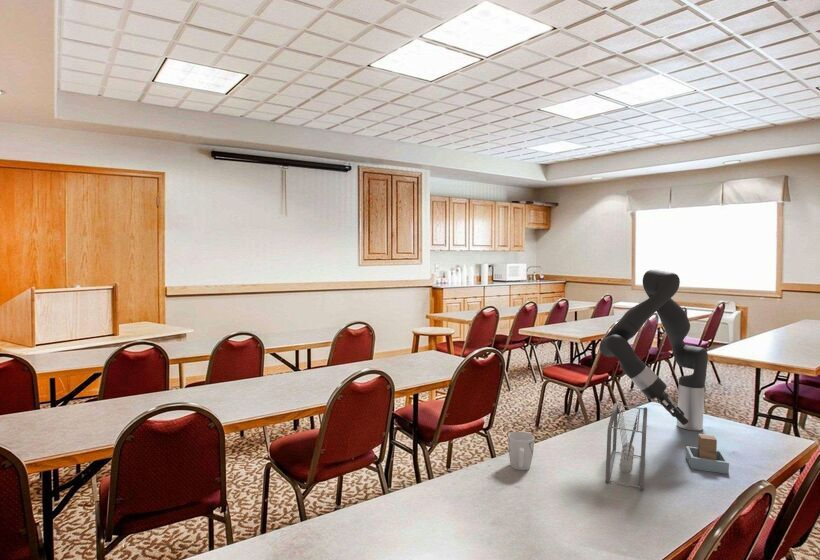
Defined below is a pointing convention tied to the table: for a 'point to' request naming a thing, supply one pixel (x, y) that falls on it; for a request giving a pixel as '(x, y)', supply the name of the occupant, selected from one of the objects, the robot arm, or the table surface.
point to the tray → (707, 461)
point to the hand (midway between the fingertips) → (684, 419)
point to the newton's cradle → (625, 445)
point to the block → (707, 446)
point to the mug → (520, 449)
